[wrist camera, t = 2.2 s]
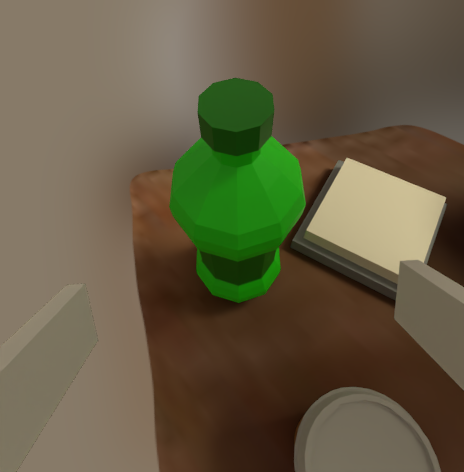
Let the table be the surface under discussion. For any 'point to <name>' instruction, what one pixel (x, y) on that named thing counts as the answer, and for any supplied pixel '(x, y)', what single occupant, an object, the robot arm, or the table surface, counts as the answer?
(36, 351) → the robot arm
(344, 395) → the disposable coffee cup
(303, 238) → the stepped plinth
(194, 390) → the table surface
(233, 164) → the plastic bottle
